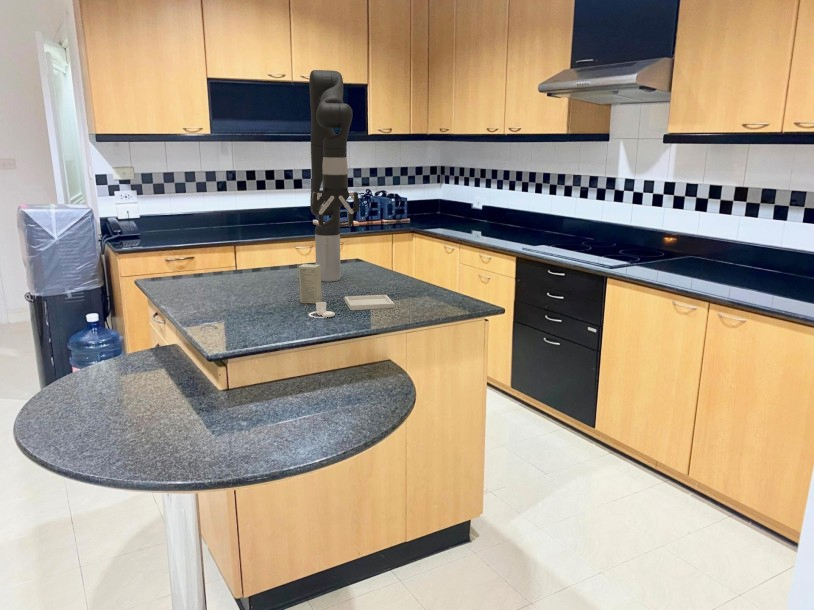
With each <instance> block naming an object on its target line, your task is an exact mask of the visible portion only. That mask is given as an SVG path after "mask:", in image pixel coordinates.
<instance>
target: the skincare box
mask: <svg viewBox="0 0 814 610" xmlns="http://www.w3.org/2000/svg"><path fill="white" fill-rule="evenodd" d="M298 279H299V280H298V282H299V285H298V286H299V301H300V303H301V304H302V303H303V304H316V303H317V302H323V296H322V294H323V293H322V290H323V289H322V281H321V268H320V265H316V264H313V263H312V264H310V263H303V264H301V265H299V266H298Z"/></svg>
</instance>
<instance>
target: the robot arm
mask: <svg viewBox="0 0 814 610" xmlns="http://www.w3.org/2000/svg"><path fill="white" fill-rule="evenodd" d="M343 79H344V78H343V76H342V74H341V72H339V71H337V70H329V69H328V70H324V69H313V70H311V72H310V73H309V84H308V85H309V102H310V103H309V104H310V117H311V118H310V123H311V124H310V163H311V179H310V180H311V183H310V200H309V201H310V202H309V203H310V206H309V207H310V211H311V214H312V215H314V216H317V217H318V218H317V219H318V220H317V221H318V225H316V226H315V228H314V235H315V236H314V237H315V238H314V240H315V241H314V243H315V244H314V245H315V265H320V268H321V282H326V283H327V282H337V281H340V280H341V278H342V277H341V229H340V228H341V208H342V207H344V208H345V209H346V210H347V211H346V212H348V213H347V226H348V227H352V225H353V224H354V214H355V213H359V212H360V201H359V199H360V198H359V192H357V191H353V192H350V191H349V190H348V189H349V183H348V181H349V178H348V177H349V175H348V174H349V167H348V166H349V165H348V158H347V157H348V155H347V154H348V153H347V152H348V151H347V145H348V137H349V132H350V128H351V125H352V120H353V109H352V107H351V106H350V105H349V104H347V103H344V99H343V98H344V80H343ZM334 129H340V130H339V133H337V134H336V132H335V130H334ZM321 187H322V190H321ZM349 197H350V199H352V201H353V207H352V208H351V206H350V205H349V203H348V202H347V201H348V199H349ZM324 216H326V217H327V216H328V217H329V216H330V218H329V220H327V221H324V219H325V218H324Z"/></svg>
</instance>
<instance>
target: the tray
mask: <svg viewBox="0 0 814 610" xmlns="http://www.w3.org/2000/svg"><path fill="white" fill-rule="evenodd" d="M344 302H345V304H346V305H347V307H348V309H349V310H350V311H361V310H362V311H363V310H366V311H367V310H382V309H383V310H384V309H387V310H388V309H395V303H394V302H393V300H392V299H391V298H390V297H389V296H388V295H387V294H371V295H351V296H344Z"/></svg>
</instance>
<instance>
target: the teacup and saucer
mask: <svg viewBox="0 0 814 610" xmlns="http://www.w3.org/2000/svg"><path fill="white" fill-rule="evenodd" d="M315 307H316V309H315V310H316V311H312V312H309V313H308V315H307V316H309V317H311V318H313V317H314V318H315V319H327V317H328V318H332V317H334V316H335V315H336V314H335V312H334V311H330V310H327V302H325V301H320V302H317V303H315ZM316 313H317V315H318V316H314V315H313V314H316ZM311 314H312V315H311ZM320 315H322V316H320Z"/></svg>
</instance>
